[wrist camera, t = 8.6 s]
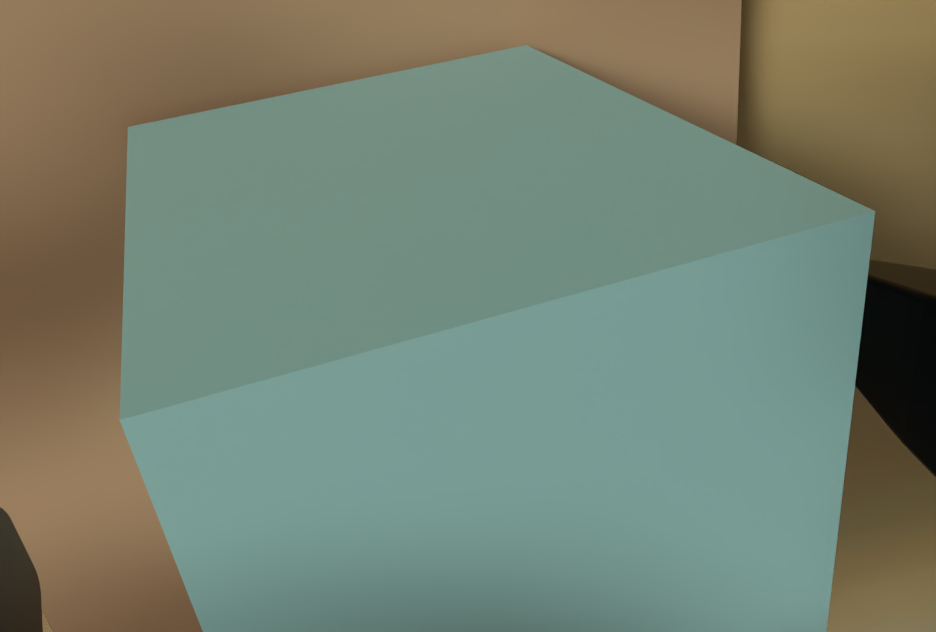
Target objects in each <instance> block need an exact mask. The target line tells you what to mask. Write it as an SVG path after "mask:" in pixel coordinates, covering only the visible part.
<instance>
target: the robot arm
mask: <svg viewBox="0 0 936 632" xmlns="http://www.w3.org/2000/svg"><path fill="white" fill-rule="evenodd" d="M855 386H856V387H857V388H858V389H859V391H860V392H861V393H862V394H863V396H864V397H865V398H866V399H867V401H868V402H869V403H870V404H871V406H872V407H873V408H874V409H875V410H876V412H877V413H878V414H879V415H880V417H881V418H882V419H883V420H884V422H885V423H886V424H887V425H888V426H889V428H890V429H891V430H892V431H893V432H894V434H895V435H896V436H897V437H898V438H899V439H900V441H901V442H902V443H903V444H904V445H905V446H906V447H907V448H908V449H909V450H910V451H911V453H912V454H913V455H914V456H915V457H916V458H917V459H918V460H919V461H920V462H921V463H922V464H923V465H924V466H925V467H926V468H927V469H928V470H929V471H930V472H931V473H932V474H933V475H934V476H935V477H936V270H935V269H928V268H921V267H915V266H908V265H901V264H895V263H888V262H882V261H875V260H870V261H869V270H868V278H867V287H866V295H865V304H864V313H863V321H862V330H861V338H860V347H859V356H858V364H857V373H856V381H855ZM0 632H43V629H42V603H41V588H40V582H39V578H38V575H37V572H36V569H35V567H34V564H33V562H32V560H31V558H30V556H29V554H28V552H27V550H26V548H25V546H24V544H23V542H22V540H21V538H20V536H19V534H18V532H17V530H16V528H15V526H14V524H13V522H12V520H11V518H10V516H9V515H8V514H7V512H6V511H5V510H4V509H3V508H0Z"/></svg>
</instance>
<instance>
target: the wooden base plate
mask: <svg viewBox="0 0 936 632" xmlns="http://www.w3.org/2000/svg"><path fill="white" fill-rule="evenodd" d="M741 4H742V0H0V508H3V509H4V510H5V511H6V512H7V514H8V515H9V516H10V518H11V520H12V522H13V524H14V526H15V528H16V530H17V532H18V534H19V536H20V538H21V540H22V542H23V544H24V546H25V548H26V550H27V552H28V554H29V556H30V558H31V560H32V562H33V564H34V567H35V569H36V572H37V575H38V578H39V582H40V588H41V603H42V612H43V614H44V616H45V617H46V619H47V621H48V623H49V625H50V627H51V629H52V631H53V632H203V631H202V629H201V626H200V623H199V621H198V618H197V616H196V613H195V611H194V608H193V606H192V603H191V601H190V598H189V595H188V593H187V590H186V588H185V585H184V583H183V580H182V578H181V575H180V572H179V570H178V567H177V565H176V562H175V560H174V557H173V555H172V552H171V550H170V547H169V544H168V542H167V539H166V537H165V534H164V532H163V529H162V527H161V524H160V522H159V519H158V516H157V514H156V511H155V509H154V506H153V504H152V501H151V499H150V496H149V494H148V491H147V488H146V486H145V483H144V481H143V478H142V476H141V473H140V471H139V468H138V466H137V463H136V460H135V458H134V455H133V453H132V450H131V448H130V445H129V443H128V440H127V438H126V435H125V432H124V430H123V427H122V425H121V422H120V391H121V355H122V319H123V283H124V248H125V212H126V176H127V140H128V127H130V126H135V125H140V124H145V123H150V122H155V121H159V120H164V119H169V118H174V117H179V116H184V115H189V114H193V113H198V112H203V111H208V110H213V109H218V108H223V107H228V106H232V105H237V104H242V103H247V102H252V101H257V100H262V99H266V98H271V97H276V96H281V95H286V94H291V93H296V92H301V91H305V90H310V89H315V88H320V87H325V86H330V85H335V84H339V83H344V82H349V81H354V80H359V79H364V78H369V77H373V76H378V75H383V74H388V73H393V72H398V71H403V70H408V69H412V68H417V67H422V66H427V65H432V64H437V63H442V62H446V61H451V60H456V59H461V58H466V57H471V56H476V55H481V54H485V53H490V52H495V51H500V50H505V49H510V48H515V47H519V46H524V45H528V46H530V47H532V48H534V49H536V50H538V51H540V52H542V53H544V54H547V55H549V56H551V57H553V58H555V59H557V60H559V61H561V62H563V63H565V64H567V65H570V66H572V67H574V68H576V69H578V70H580V71H582V72H584V73H586V74H588V75H591V76H593V77H595V78H597V79H599V80H601V81H603V82H605V83H607V84H609V85H612V86H614V87H616V88H618V89H620V90H622V91H624V92H626V93H628V94H630V95H633V96H635V97H637V98H639V99H641V100H643V101H645V102H647V103H649V104H651V105H654V106H656V107H658V108H660V109H662V110H664V111H666V112H668V113H670V114H672V115H675V116H677V117H679V118H681V119H683V120H685V121H687V122H689V123H691V124H693V125H695V126H698V127H700V128H702V129H704V130H706V131H708V132H710V133H712V134H714V135H716V136H719V137H721V138H723V139H725V140H727V141H729V142H731V143H733V144H735V145H737V121H738V92H739V63H740V33H741Z"/></svg>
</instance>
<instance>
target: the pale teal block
mask: <svg viewBox="0 0 936 632" xmlns="http://www.w3.org/2000/svg"><path fill="white" fill-rule="evenodd" d="M874 218H875V211H874V210H872V209H870V208H868V207H865V206H863V205H861V204H859V203H857V202H855V201H853V200H851V199H849V198H847V197H844V196H842V195H840V194H838V193H836V192H834V191H832V190H830V189H828V188H826V187H823V186H821V185H819V184H817V183H815V182H813V181H811V180H809V179H807V178H805V177H803V176H800V175H798V174H796V173H794V172H792V171H790V170H788V169H786V168H784V167H782V166H779V165H777V164H775V163H773V162H771V161H769V160H767V159H765V158H763V157H761V156H758V155H756V154H754V153H752V152H750V151H748V150H746V149H744V148H742V147H740V146H737V145H735V144H733V143H731V142H729V141H727V140H725V139H723V138H721V137H719V136H716V135H714V134H712V133H710V132H708V131H706V130H704V129H702V128H700V127H698V126H695V125H693V124H691V123H689V122H687V121H685V120H683V119H681V118H679V117H677V116H675V115H672V114H670V113H668V112H666V111H664V110H662V109H660V108H658V107H656V106H654V105H651V104H649V103H647V102H645V101H643V100H641V99H639V98H637V97H635V96H633V95H630V94H628V93H626V92H624V91H622V90H620V89H618V88H616V87H614V86H612V85H609V84H607V83H605V82H603V81H601V80H599V79H597V78H595V77H593V76H591V75H588V74H586V73H584V72H582V71H580V70H578V69H576V68H574V67H572V66H570V65H567V64H565V63H563V62H561V61H559V60H557V59H555V58H553V57H551V56H549V55H547V54H544V53H542V52H540V51H538V50H536V49H534V48H532V47H530V46H528V45H524V46H519V47H515V48H510V49H505V50H500V51H495V52H490V53H485V54H481V55H476V56H471V57H466V58H461V59H456V60H451V61H446V62H442V63H437V64H432V65H427V66H422V67H417V68H412V69H408V70H403V71H398V72H393V73H388V74H383V75H378V76H373V77H369V78H364V79H359V80H354V81H349V82H344V83H339V84H335V85H330V86H325V87H320V88H315V89H310V90H305V91H301V92H296V93H291V94H286V95H281V96H276V97H271V98H266V99H262V100H257V101H252V102H247V103H242V104H237V105H232V106H228V107H223V108H218V109H213V110H208V111H203V112H198V113H193V114H189V115H184V116H179V117H174V118H169V119H164V120H159V121H155V122H150V123H145V124H140V125H135V126H130V127H128V140H127V176H126V212H125V248H124V283H123V319H122V355H121V391H120V422H121V425H122V427H123V430H124V432H125V435H126V438H127V440H128V443H129V445H130V448H131V450H132V453H133V455H134V458H135V460H136V463H137V466H138V468H139V471H140V473H141V476H142V478H143V481H144V483H145V486H146V488H147V491H148V494H149V496H150V499H151V501H152V504H153V506H154V509H155V511H156V514H157V516H158V519H159V522H160V524H161V527H162V529H163V532H164V534H165V537H166V539H167V542H168V544H169V547H170V550H171V552H172V555H173V557H174V560H175V562H176V565H177V567H178V570H179V572H180V575H181V578H182V580H183V583H184V585H185V588H186V590H187V593H188V595H189V598H190V601H191V603H192V606H193V608H194V611H195V613H196V616H197V618H198V621H199V623H200V626H201V629H202V631H203V632H826V631H827V622H828V614H829V605H830V596H831V588H832V579H833V571H834V562H835V553H836V545H837V536H838V528H839V519H840V510H841V502H842V493H843V485H844V476H845V467H846V459H847V450H848V442H849V433H850V424H851V416H852V407H853V399H854V390H855V381H856V373H857V364H858V356H859V347H860V338H861V330H862V321H863V313H864V304H865V295H866V287H867V278H868V270H869V261H870V252H871V244H872V235H873V227H874Z"/></svg>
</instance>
